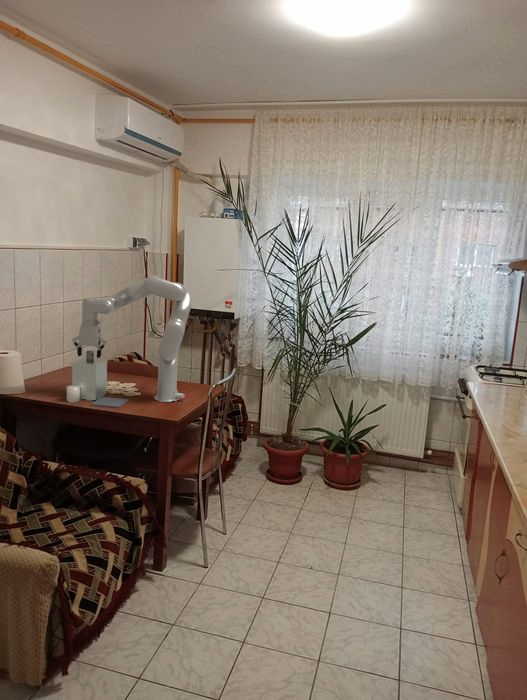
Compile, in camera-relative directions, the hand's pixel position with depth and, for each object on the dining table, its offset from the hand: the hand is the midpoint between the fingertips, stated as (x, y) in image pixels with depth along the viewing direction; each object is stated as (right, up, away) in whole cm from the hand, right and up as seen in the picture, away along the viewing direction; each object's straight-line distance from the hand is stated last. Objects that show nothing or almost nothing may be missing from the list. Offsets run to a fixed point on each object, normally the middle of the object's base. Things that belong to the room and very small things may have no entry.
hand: (89, 356), depth 268 cm
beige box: (-1, -20, +4) cm, 21 cm away
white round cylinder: (-6, -21, -5) cm, 23 cm away
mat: (+12, -23, -5) cm, 26 cm away
